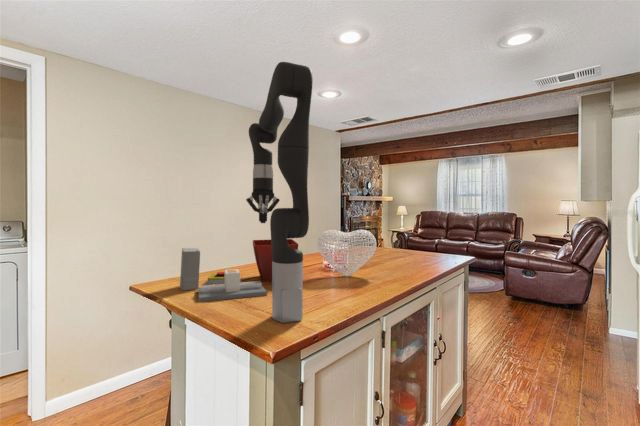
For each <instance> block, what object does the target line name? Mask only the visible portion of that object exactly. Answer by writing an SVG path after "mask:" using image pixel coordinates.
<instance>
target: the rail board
mask: <svg viewBox="0 0 640 426" xmlns="http://www.w3.org/2000/svg"><path fill="white" fill-rule="evenodd" d="M197 293H198V303H199V302H200V303H201V302H202V303H203V302H211V301H212V302H213V301H220V300H221V301H222V300H232V299H242V298H254V297H261V296H268V291H267V289H265V287H264V286H263V285H262V288H257V289H246V290H240V291H236V292H226V291H223V292H212V293H201V286H200V287H198V289H197Z"/></svg>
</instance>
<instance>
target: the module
mask: <svg viewBox="0 0 640 426" xmlns="http://www.w3.org/2000/svg"><path fill="white" fill-rule="evenodd" d="M223 272H224V284H225V285H226V292H236V291H240V279H241V272H240V270H239V269H238V268H236V269H235V268H234V269H233V268H232V269H224V271H223Z"/></svg>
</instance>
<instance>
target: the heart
mask: <svg viewBox="0 0 640 426" xmlns="http://www.w3.org/2000/svg"><path fill="white" fill-rule="evenodd" d="M331 242H332V243H331ZM377 244H378V243H377V239H376V236H374V234H373V233H372V232H371V231H370V230H366V229H357V230H352V231H350V232H345V231H340V230H338V229H327V230H325V231H324V232H322V233H321V234H320V236H319V237H318V240H317V249H318V252H319V254H320V255H321V257H322V258H323V259H324V260H325V261H326V262H327V263H328V265H330V266H331V267H332V268H333V269H335V270H336V271H337V272H338V273H339V274H340V275H341V276H344V277H351V276H352V275H353V274H355V273H356V272H357V271H358V270H359V269H360V268H361V267H362V266H364V265H365V264H366V263H367V262H368V261H369V260H370V259H371V258H372V257H373V255H375V252H376V250H377V246H378V245H377ZM333 250H334V251H333ZM339 251H340V252H339ZM342 251H343V252H342Z"/></svg>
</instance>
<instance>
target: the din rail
mask: <svg viewBox="0 0 640 426" xmlns="http://www.w3.org/2000/svg"><path fill="white" fill-rule="evenodd" d="M262 286H263V283H262V281H261V280H255V281H253V280H252V281H241V282H240V290H246V289H257V288H262ZM200 287H201V293H212V292H223V291H226V285H225V284H215V285H205V284H203V285H200Z"/></svg>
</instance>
